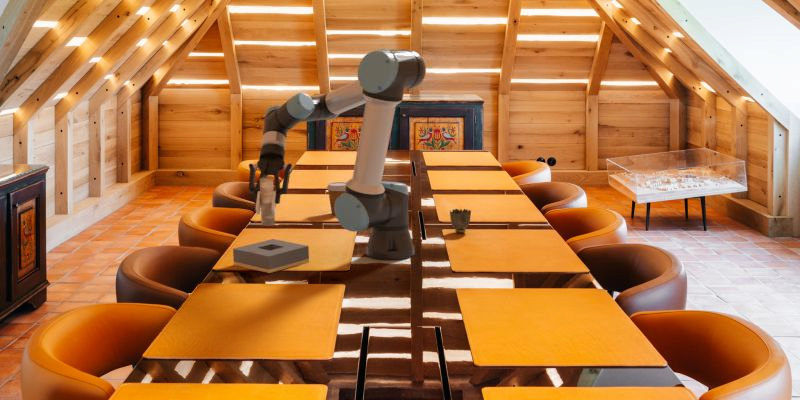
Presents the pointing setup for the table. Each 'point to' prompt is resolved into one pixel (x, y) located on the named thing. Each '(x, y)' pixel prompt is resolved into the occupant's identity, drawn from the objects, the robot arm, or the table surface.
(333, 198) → the disposable coffee cup
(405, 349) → the table surface
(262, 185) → the birch peg
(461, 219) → the cup
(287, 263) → the socket block
